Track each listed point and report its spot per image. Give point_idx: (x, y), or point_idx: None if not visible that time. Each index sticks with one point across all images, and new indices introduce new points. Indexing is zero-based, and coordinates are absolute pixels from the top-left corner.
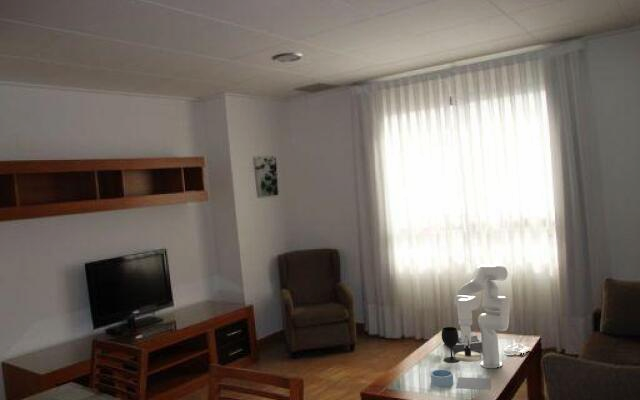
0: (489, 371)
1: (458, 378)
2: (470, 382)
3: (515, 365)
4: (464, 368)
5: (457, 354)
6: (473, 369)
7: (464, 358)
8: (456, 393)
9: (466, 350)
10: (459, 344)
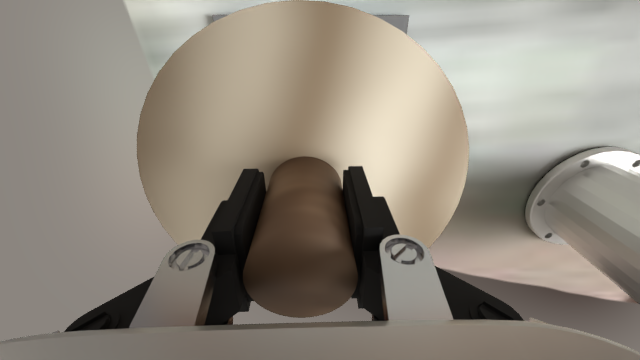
0: (491, 189)
1: (384, 20)
2: None
3: (539, 279)
4: (581, 49)
5: (327, 41)
6: (544, 108)
7: (171, 155)
8: (148, 23)
9: (206, 237)
10: None
